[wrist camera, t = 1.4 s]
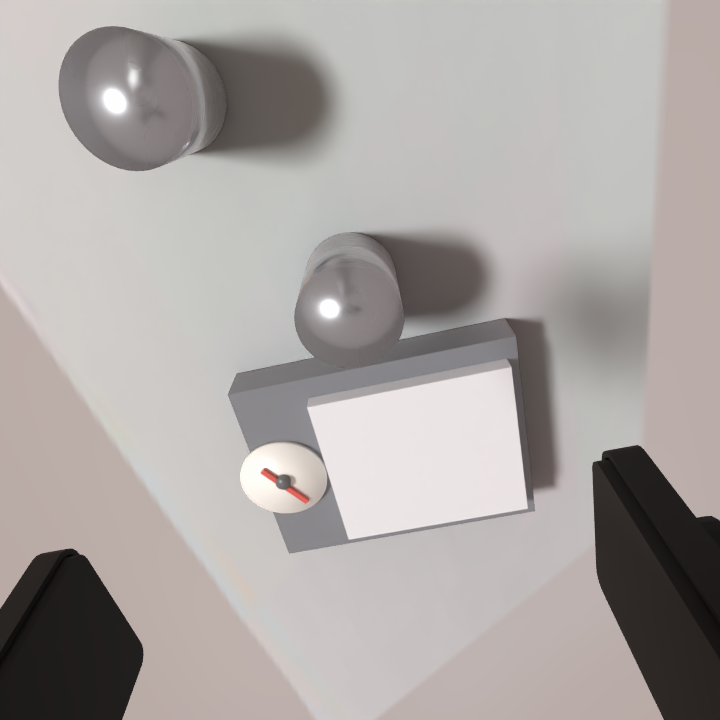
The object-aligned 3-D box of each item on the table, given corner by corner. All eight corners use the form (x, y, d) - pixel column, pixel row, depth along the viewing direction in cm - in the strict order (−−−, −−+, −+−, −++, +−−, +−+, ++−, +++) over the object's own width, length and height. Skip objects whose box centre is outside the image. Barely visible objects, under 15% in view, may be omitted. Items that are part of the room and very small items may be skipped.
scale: (218, 377, 27) (204, 407, 24) (504, 318, 25) (521, 343, 23) (277, 529, 31) (270, 568, 29) (524, 485, 30) (539, 522, 27)
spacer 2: (295, 243, 24) (281, 280, 19) (385, 223, 23) (392, 255, 19) (318, 326, 26) (310, 377, 21) (403, 308, 25) (412, 356, 21)
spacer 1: (104, 54, 21) (34, 45, 16) (206, 27, 20) (162, 10, 16) (146, 164, 22) (93, 183, 18) (240, 140, 22) (210, 154, 17)
